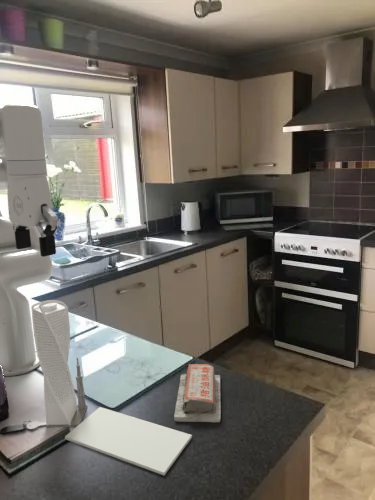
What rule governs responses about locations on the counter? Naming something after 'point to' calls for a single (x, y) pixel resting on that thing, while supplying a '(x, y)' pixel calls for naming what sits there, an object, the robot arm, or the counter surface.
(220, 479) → the counter surface
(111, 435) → the mat
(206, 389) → the packaged product
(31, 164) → the robot arm
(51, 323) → the twisted tower model
